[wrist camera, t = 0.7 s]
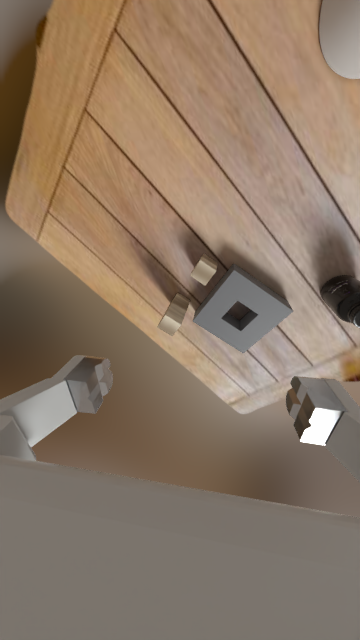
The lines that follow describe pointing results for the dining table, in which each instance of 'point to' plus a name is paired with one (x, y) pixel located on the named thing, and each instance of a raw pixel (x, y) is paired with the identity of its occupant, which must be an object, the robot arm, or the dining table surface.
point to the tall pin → (174, 314)
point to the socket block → (250, 293)
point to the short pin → (204, 269)
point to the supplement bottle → (343, 298)
